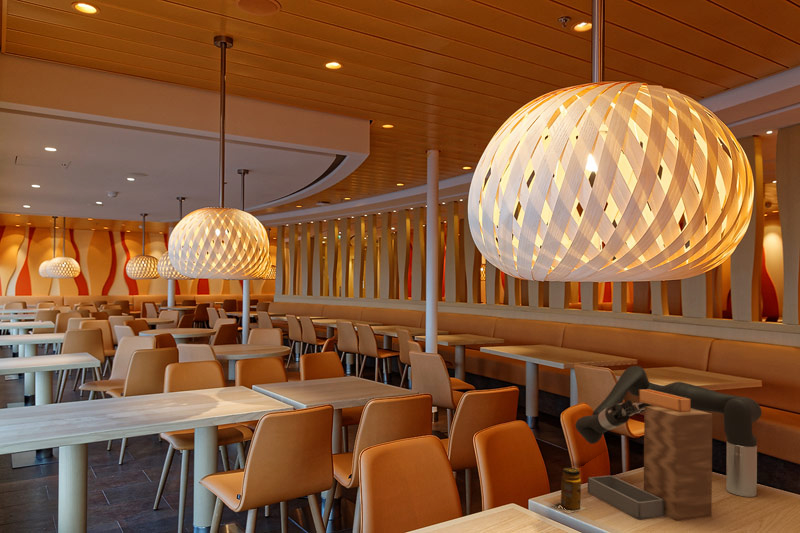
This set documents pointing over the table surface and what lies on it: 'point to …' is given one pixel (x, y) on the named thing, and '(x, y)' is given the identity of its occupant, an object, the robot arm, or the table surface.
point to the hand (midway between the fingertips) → (640, 402)
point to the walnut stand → (679, 461)
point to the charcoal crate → (626, 497)
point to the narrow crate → (665, 400)
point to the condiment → (570, 491)
